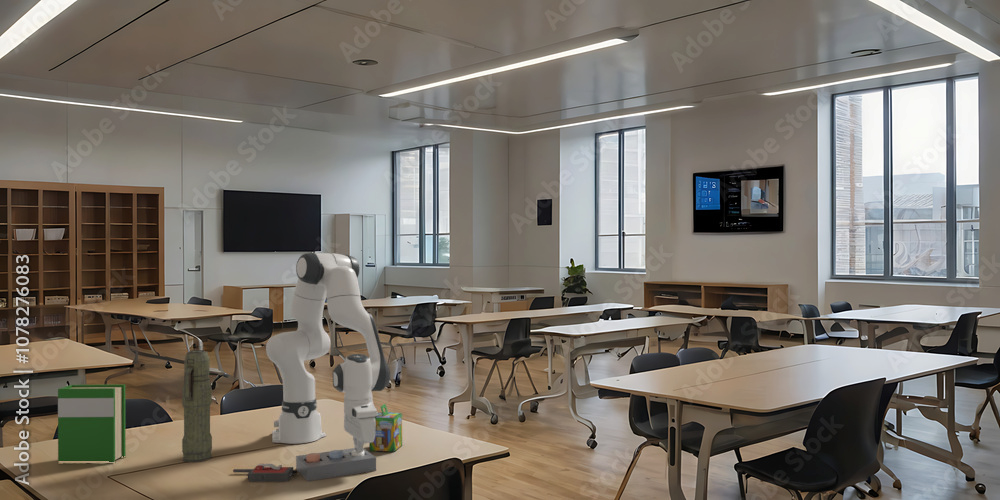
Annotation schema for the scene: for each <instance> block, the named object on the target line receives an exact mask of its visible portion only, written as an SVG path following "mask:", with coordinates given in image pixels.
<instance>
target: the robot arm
mask: <svg viewBox="0 0 1000 500" xmlns="http://www.w3.org/2000/svg"><path fill="white" fill-rule="evenodd" d="M295 271H296V276H297V278H298V279H297V281H296V284H295V288H294V292H293V298H292V303H291V307H290V314H291V316H292V318H293V319H294V320H295V321H296V322H297V329H296V330H295V331H294V330H292V331H286V332H285V331H284V332H280V333H278V334H275V335H272V336H271V337H269V339H268V340H267V342H266V346H265V352H266V356H267V357H268V359H269V360H270V361H271V362H272V363H274V364H275V365H276V367H277V369H278V370H279V372H280V375H281V378H282V391H283V393H282V394H283V399H282V401H281V412H280V414H279V417H278V419H277V420H273V428H276V429H274V430H272V434H271V437H272V441H271V442H272V443H274V444H275V443H277V444H278V443H282V444H288V445H289V444H294V445H295V444H306V443H311V442H315V441H318V440H320V439H321V438H324V437H326V436H327V435H326V432H324V431H322V417H321V413H320V412H318V410H317V408H318V406H317V404H318V403H317V398H316V378H315V376H314V375H313V374H312V373H311V372H309V371H307V369H306V366H305V361H310V360H311V361H312V360H315V359H318V358H320V357H324V356H325V355H327V354H328V352H330V348H331V345H332V344H331V338H330V335H329V334H328V333H327V332H326V331H325V329H324V326H323V325H324V324H323V315H324V308H325V302H326V306H327V307H326V308H327V312H328V315H329V317H330V319H331V320H332V321H334V323H336V324H338V325H339V326H342V327H345V328H348V329H350V330H353V331H356V332H357V333H359V334H361V335H362V337H363V338H364V340H365V345H366V348H367V353H368V355H367V354H362V353H353V354H349V355H348V356H345V361H344V362H342V363H338V364H337V365H336V366H335V368H334V369H333V370H332V387H334V389H335V390H336V391H337V392H339V393H344V396H343V412H344V413H343V415H344V416H343V430H344V431H345V432H346V433H347V434H348V435H350V436H352V441H353V444H354V448H355V451H357V452H358V453H360V452H363V448H364V445H365V444H369V443H372V442H374V439H375V426H376V422H375V416H377V413H378V410H377V408H376V406H375V404H374V401H373V400H374V396H373V393H372V392H382V391H383V390H384V389H386V388H387V386H388V385H389V384H390V382H391V372H390V368H389V366H388V363H387V360H386V358H385V355H384V350H383V347H382V344H381V340H380V336H379V332H378V328H377V326H376V323H375V319H374V317H373V315H372V313H369V312H368V311H367V310H366V309H365V307H364V305H363V303H362V298H361V291H360V285H359V280H358V278H359V275H360V264H359V261H358V260H357V258H355V256H352V255H348V254H340V253H335V252H334V253H333V252H317V253H315V252H306V253H303V254H301V255H300V257H299V258H298V260H297V261H296V267H295Z"/></svg>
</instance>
